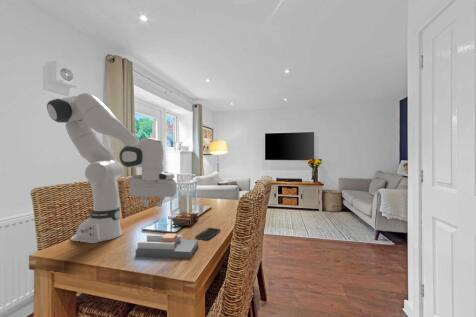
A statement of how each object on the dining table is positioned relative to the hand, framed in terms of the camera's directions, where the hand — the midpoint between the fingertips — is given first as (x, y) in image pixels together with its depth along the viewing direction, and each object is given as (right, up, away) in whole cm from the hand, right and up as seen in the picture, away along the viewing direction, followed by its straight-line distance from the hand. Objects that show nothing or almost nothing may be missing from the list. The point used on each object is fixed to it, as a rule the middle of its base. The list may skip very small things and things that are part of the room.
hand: (152, 206), depth 92 cm
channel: (+7, -19, 0) cm, 20 cm away
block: (+8, -17, 0) cm, 18 cm away
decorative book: (+5, -19, +38) cm, 43 cm away
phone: (+22, -20, +19) cm, 35 cm away
